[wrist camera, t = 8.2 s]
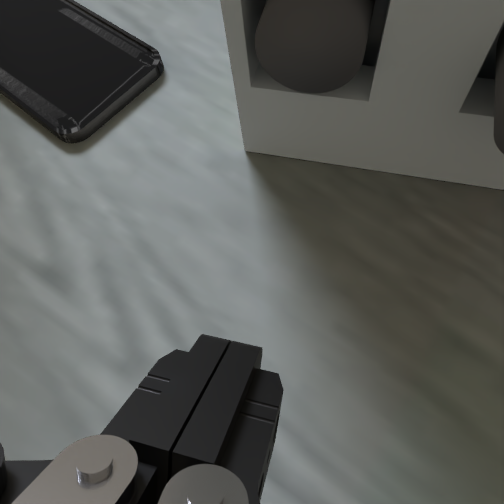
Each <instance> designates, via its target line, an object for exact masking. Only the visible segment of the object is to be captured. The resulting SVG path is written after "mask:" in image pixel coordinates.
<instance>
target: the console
mask: <svg viewBox="0 0 504 504" xmlns="http://www.w3.org/2000/svg"><path fill="white" fill-rule="evenodd" d="M220 1H221V8H222V14H223V20H224V26H225V32H226V38H227V44H228V51H229V57H230V63H231V69H232V75H233V81H234V87H235V94H236V100H237V106H238V112H239V118H240V124H241V131H242V137H243V143H244V149H245V151H249V152H256V153H263V154H269V155H276V156H282V157H289V158H296V159H302V160H309V161H315V162H322V163H329V164H335V165H342V166H349V167H355V168H362V169H368V170H375V171H382V172H388V173H395V174H402V175H408V176H415V177H421V178H428V179H435V180H441V181H448V182H455V183H461V184H468V185H474V186H481V187H488V188H494V189H501V190H504V154H503V153H502V152H501V151H500V150H499V149H498V147H497V146H496V144H495V141H494V135H493V134H494V103H495V71H496V46H497V41H498V37H499V35H500V33H501V30H502V29H503V27H504V0H375V4H374V9H373V14H372V19H371V24H370V29H369V34H368V39H367V44H366V49H365V54H364V58H363V62H362V65H361V67H360V69H359V71H358V72H357V74H356V75H355V76H354V77H353V78H352V79H351V80H350V81H349V82H348V83H346V84H345V85H343V86H342V87H340V88H338V89H335V90H332V91H329V92H324V93H304V92H299V91H295V90H292V89H290V88H287V87H285V86H283V85H282V84H280V83H278V82H277V81H276V80H274V79H273V78H272V77H271V76H270V75H269V74H268V73H267V72H266V71H265V69H264V68H263V67H262V65H261V63H260V61H259V59H258V57H257V54H256V50H255V33H256V30H257V27H258V24H259V21H260V18H261V15H262V12H263V10H264V7H265V4H266V1H267V0H220Z"/></svg>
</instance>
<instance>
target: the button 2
mask: <svg viewBox="0 0 504 504" xmlns="http://www.w3.org/2000/svg"><path fill="white" fill-rule="evenodd" d="M493 135H494V141H495V144H496V146H497V147H498V149H499V150H500V151H501V152H502V153H503V154H504V27H503V29H502V30H501V33H500V35H499V37H498V41H497V46H496V71H495V103H494V134H493Z"/></svg>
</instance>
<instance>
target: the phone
mask: <svg viewBox="0 0 504 504" xmlns="http://www.w3.org/2000/svg"><path fill="white" fill-rule="evenodd" d="M162 72H163V63H162V60H161V57H160V54H159V52H158V51H157V50H156V49H155V48H153V47H151V46H150V45H148V44H146V43H145V42H143V41H141V40H140V39H138V38H136V37H135V36H133V35H131V34H129V33H128V32H126V31H124V30H123V29H121V28H119V27H118V26H116V25H114V24H113V23H111V22H109V21H107V20H106V19H104V18H102V17H101V16H99V15H97V14H96V13H94V12H92V11H91V10H89V9H87V8H85V7H84V6H82V5H80V4H79V3H77V2H75V1H74V0H0V92H1V93H2V94H3V95H5V96H6V97H7V98H8V99H10V100H11V101H12V102H14V103H15V104H16V105H17V106H19V107H20V108H21V109H23V110H24V111H25V112H26V113H28V114H29V115H30V116H31V117H33V118H34V119H35V120H37V121H38V122H39V123H40V124H42V125H43V126H44V127H45V128H47V129H48V130H49V131H51V132H52V133H53V134H54V135H56V136H57V137H58V138H59V139H61V140H62V141H64V142H67V143H78V142H81V141H83V140H85V139H87V138H88V137H90V136H91V135H92V134H93V133H95V132H96V131H97V130H98V129H99V128H100V127H102V126H103V125H104V124H105V123H106V122H107V121H109V120H110V119H111V118H112V117H113V116H114V115H116V114H117V113H118V112H119V111H120V110H122V109H123V108H124V107H125V106H126V105H127V104H129V103H130V102H131V101H132V100H133V99H134V98H136V97H137V96H138V95H139V94H140V93H141V92H143V91H144V90H145V89H146V88H147V87H148V86H150V85H151V84H152V83H153V82H154V81H155V80H157V79H158V78H159V77H160V76H161V74H162Z"/></svg>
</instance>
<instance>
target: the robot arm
mask: <svg viewBox="0 0 504 504" xmlns="http://www.w3.org/2000/svg"><path fill="white" fill-rule="evenodd" d="M261 359H262V347H257V346H253V345H249V344H244V343H240V342H236V341H231V340H226V339H222V338H218V337H213V336H209V335H204V334H202V335H201V336H200V337H199V338H198V340H197V341H196V343H195V344H194V346H193V347H192V348H191V350H190V351H189V352H185V351H181V350H177V349H176V350H174V351H173V352H171V353H169V354H168V355H166V356H164V357H162V358H161V359H159V360H158V361H157V363H156V364H155V365H154V366H153V368H152V369H151V370H150V372H149V373H148V376H147V377H145V378H144V379H143V381H142V382H141V383H140V384H139V387H138V389H136V390H135V391H134V392H133V393H132V395H131V396H130V397H129V398H128V400H127V401H126V402H125V404H124V405H123V406H122V407H121V409H120V410H119V411H118V413H117V414H116V415H115V416H114V418H113V419H112V420H111V421H110V423H109V424H108V425H107V427H106V428H105V429H104V430H103V432H102V433H101V434H100V435H95V436H90V437H86V438H83V439H81V440H78V441H76V442H74V443H73V444H71V445H70V446H68V447H67V448H65V449H64V450H63V451H62V452H61V453H60V454H59V455H58V456H57V457H56V458H55V459H54V460H40V461H5V457H4V450H3V447H2V445H1V443H0V504H260V499H261V495H262V491H263V487H264V483H265V479H266V475H267V471H268V467H269V463H270V459H271V455H272V451H273V447H274V443H275V439H276V432H277V426H278V420H279V414H280V408H281V402H282V396H283V387H282V384H281V380H280V377H279V374H278V373H274V372H270V371H265V370H261V369H260V367H261Z"/></svg>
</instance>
